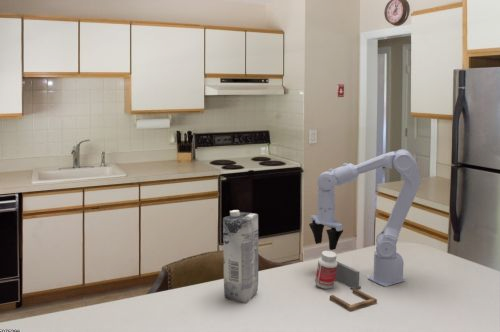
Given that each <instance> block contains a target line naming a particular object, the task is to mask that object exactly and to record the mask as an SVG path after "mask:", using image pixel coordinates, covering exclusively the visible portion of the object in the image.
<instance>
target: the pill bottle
mask: <svg viewBox="0 0 500 332" xmlns="http://www.w3.org/2000/svg"><path fill="white" fill-rule="evenodd" d="M320 256H321V257H319V258H318V261H317V265H316V266H317V267H316V271H315V272H316V273H315V278H314V279H315V281H314V282H315V284H316V286H318V288H322V289H332V288H334V286H335V282H336V280H335V276H336V270H337V262H338V261H337V260H336V259H337V257H338V256H337V253H336V252H334V251H333V250H323V251H322V252H321V255H320Z"/></svg>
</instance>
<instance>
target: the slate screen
mask: <svg viewBox="0 0 500 332" xmlns="http://www.w3.org/2000/svg"><path fill="white" fill-rule="evenodd" d="M335 281H337V282H339V283H340V284H343V285H345V286H347V287H348V288H349V289H350V290H351V291H353V289H357V290H359V291H360V290H361V289H362V286H361V285H360V271H359V270H356V269H355V268H352V267H350V266H348V265H346V264H344V263H341V262H339V261H337V270H336V276H335Z"/></svg>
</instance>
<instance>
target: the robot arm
mask: <svg viewBox="0 0 500 332" xmlns="http://www.w3.org/2000/svg"><path fill="white" fill-rule="evenodd" d="M393 167H394V169H395V170H396V172H398V173H399V174H400V175H401V177H402V179H403V184H402V186H401V188H400V191H399V194H398V195H397V198H396V200H395V203H394V205H393V208H392V210H391V212H390V214H389V217H388V219H387V221H386V224H385V225H384V226H383V228H382V230H381V232H380V233H378V235H377V236H376V238H375V243H376V246H375V251H374V255H373V275H371V276H368V277H367V280H369V281H372V282H374V283H376V284H378V285H380V286H382V287H388V286H393V285H395V284H398V283H404V282H405V278H404V264H405V263H404V258H403V256H402V255H401V254H400V253H398V252H397V244H398V240H399V236H400V232H401V230H402V227H403V225H404V222H406V221H405V220H406V219H407V217H408V214H409V211H410V209H411V207H412V204H413V202H414V199H415V197H416V195H417V193H418V190H419V188H420V186H421V183H422V178H421V175H420V171H419V167H418V162H417V161H416V159H415V158H414V156H413V154H412V153H411V152H410V151H409V150H407V149H405V148H404V149H403V148H401V149H398V150H396V151H388V152H386V153H383V154H380V155H377V156H375V157H373V158H370V159H368V160H365V161H363V162H361V163H358V164H353V163H351V162H350V163H347V162H345V163H343V164H342V165H341V166H338V167H336V168H329V170H327V171H324V172H321V174H320V175H319V176H318V178H317V181H316V183H317V187H318V190H317V192H318V193H317V214H316V215H313V214H312V215H310V222H311V223H310V222H309V224H308V225H309V228H310V229H311V231H312V235H313V238H314V243H315V245H317V244H322V242H323V233H324V228H325V227H328V228H329V229H326V233H327V237H328V247H329V251H333V250H336V249H337V246H338V242H339V239H340V237H341V235H342V234H343V232H344V229H343V224H342V223H340V222H338V220H336V219H335V216H336V215H335V209H336V208H335V207H336V203H335V202H336V195H335V187H336V186H338V187H339V186H341V185H345V184H347V183H351V182H353V181H356V180H357V179H358V177H359V175H361V174H364V173H367V172H371V171H374V170H376V169H377V170H378V169H380V168H385V169H386V168H387V169H390V170H393Z"/></svg>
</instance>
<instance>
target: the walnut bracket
mask: <svg viewBox="0 0 500 332" xmlns="http://www.w3.org/2000/svg"><path fill="white" fill-rule="evenodd" d="M352 294H353V295H355V296H357V297H358V298H362V299H363V301H360V302H355V303H352V304H351V303H348V302H346V301H344V300H343V299H341V298H339V297H337V296H336V295H334V294H332V295H331V294H330V295H329V300H330V301H331V302H333V303H335V304H337V305H339V306H340V307H342V308H343V309H346V310H347V311H349V312H353V311H356V310H359V309H362V308H366V307H370V306H372V305H376V304H378V299H377V298H375V297H374V296H371V295H369V294H367V293H365V292H363V291H361V290H360V289H359V290H357V289H353V290H352Z"/></svg>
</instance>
